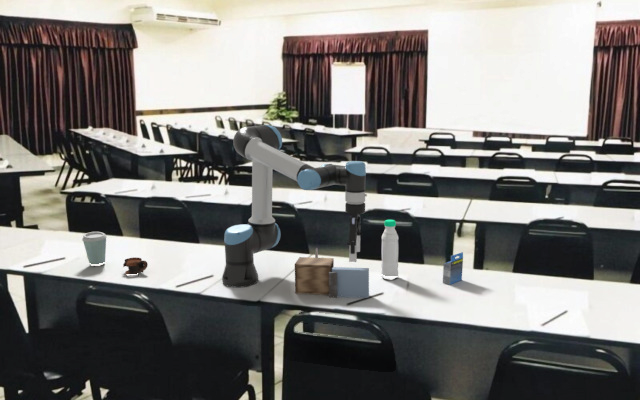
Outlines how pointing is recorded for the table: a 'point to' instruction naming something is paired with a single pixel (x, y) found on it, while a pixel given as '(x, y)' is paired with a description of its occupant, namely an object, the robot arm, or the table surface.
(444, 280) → the label tape box
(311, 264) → the cabinet
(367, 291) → the door
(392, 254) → the water bottle
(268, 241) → the robot arm
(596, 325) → the table surface
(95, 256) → the disposable coffee cup
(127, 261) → the pottery mug
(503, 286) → the table surface
